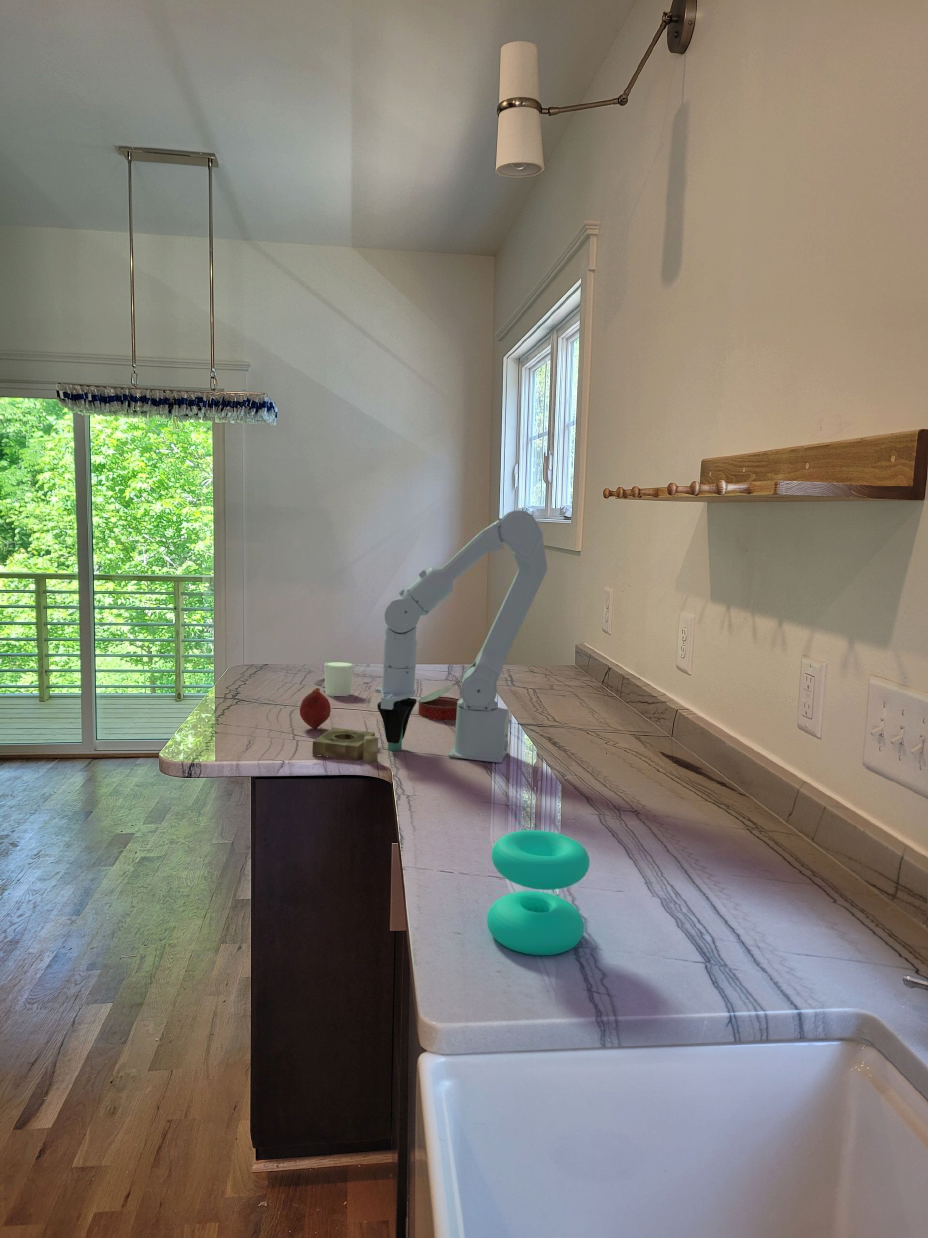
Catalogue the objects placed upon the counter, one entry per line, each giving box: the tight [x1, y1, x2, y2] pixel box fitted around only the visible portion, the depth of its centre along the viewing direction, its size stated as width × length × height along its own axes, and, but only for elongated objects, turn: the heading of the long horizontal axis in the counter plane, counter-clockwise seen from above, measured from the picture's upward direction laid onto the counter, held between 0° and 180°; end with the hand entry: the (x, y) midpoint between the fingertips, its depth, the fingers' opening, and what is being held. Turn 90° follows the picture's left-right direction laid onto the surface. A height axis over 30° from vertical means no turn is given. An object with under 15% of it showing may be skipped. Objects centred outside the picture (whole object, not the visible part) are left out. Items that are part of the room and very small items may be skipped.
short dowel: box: [362, 735, 379, 764], centre depth 148 cm, size 2×2×4 cm
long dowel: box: [387, 728, 403, 752], centre depth 156 cm, size 2×2×6 cm
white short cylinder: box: [323, 661, 355, 697], centre depth 198 cm, size 7×7×7 cm
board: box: [311, 727, 376, 762], centre depth 153 cm, size 8×10×2 cm
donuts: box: [486, 829, 590, 956], centre depth 90 cm, size 10×10×10 cm
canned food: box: [418, 677, 462, 721], centre depth 184 cm, size 11×10×10 cm
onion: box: [299, 686, 332, 729], centre depth 167 cm, size 6×6×8 cm
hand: (395, 740), depth 156 cm, fingers closed on long dowel, 2 cm apart
